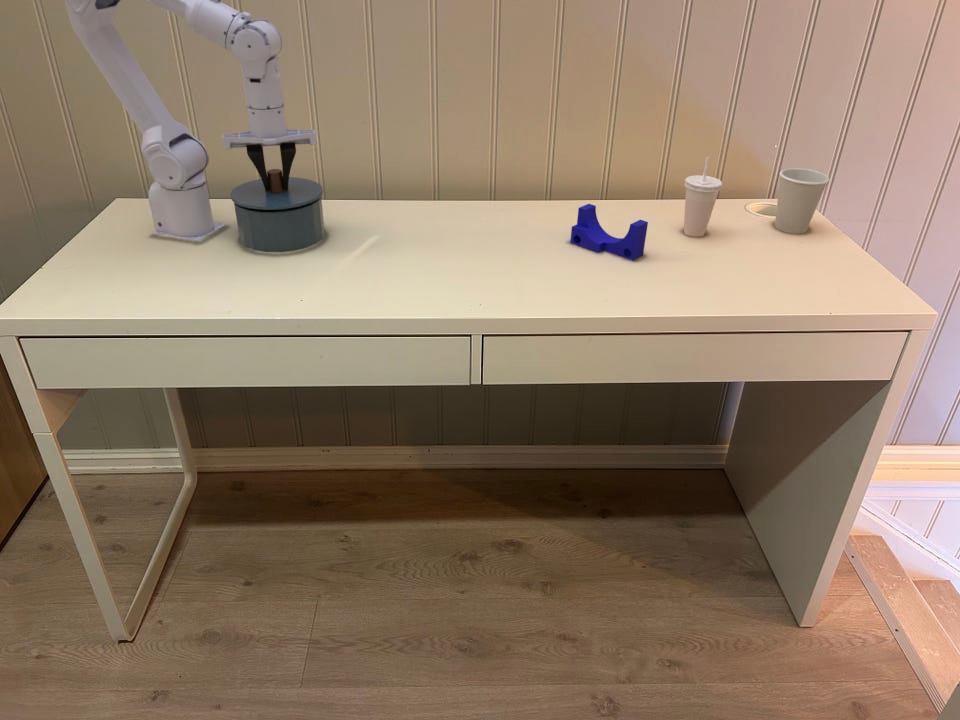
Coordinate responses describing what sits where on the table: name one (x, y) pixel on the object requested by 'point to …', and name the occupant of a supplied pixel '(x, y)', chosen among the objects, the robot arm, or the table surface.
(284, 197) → the lid
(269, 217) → the tin
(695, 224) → the smoothie
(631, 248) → the blue cradle bracket
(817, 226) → the table surface
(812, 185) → the dixie cup
